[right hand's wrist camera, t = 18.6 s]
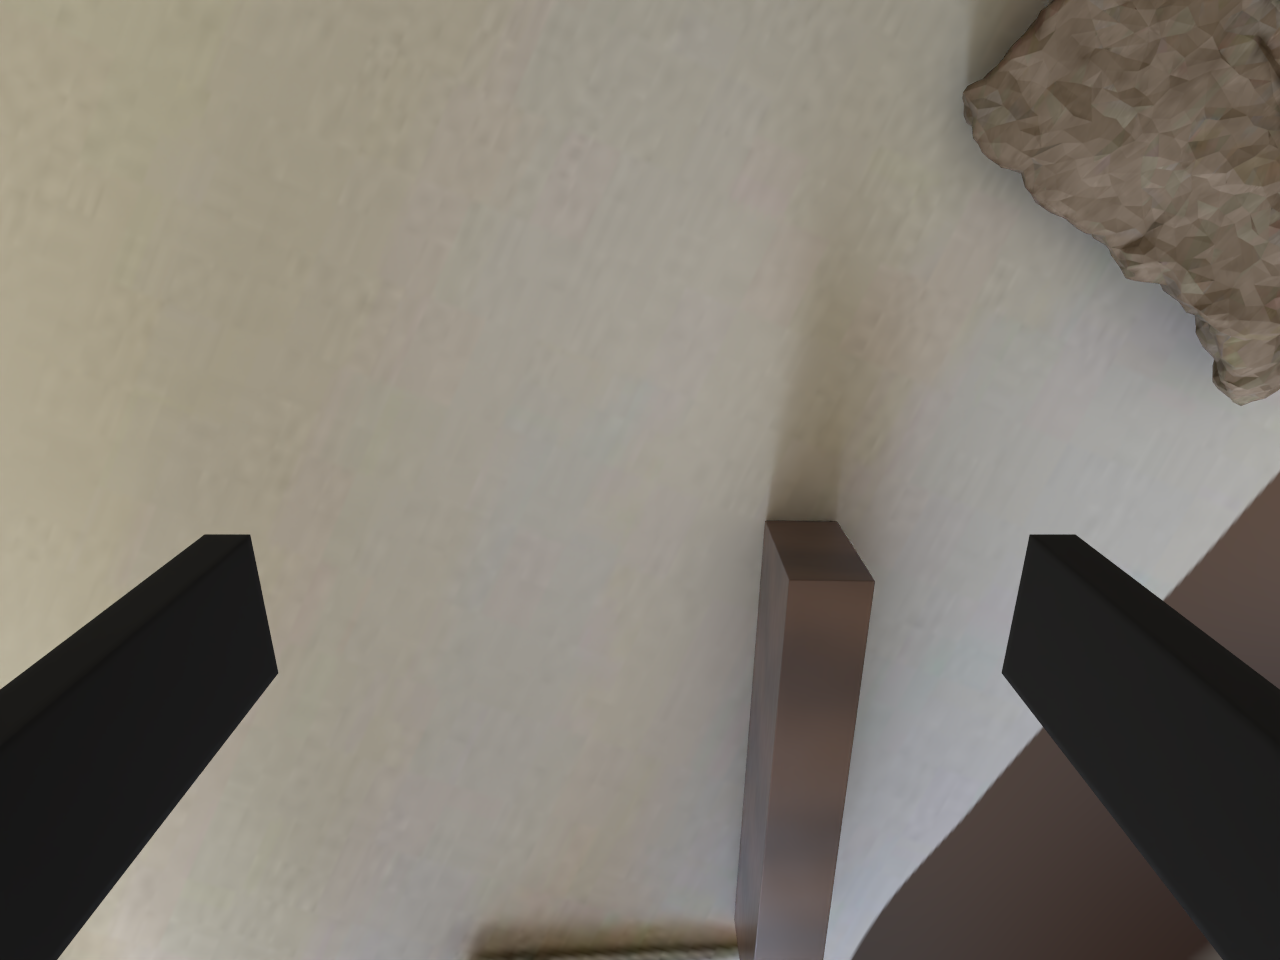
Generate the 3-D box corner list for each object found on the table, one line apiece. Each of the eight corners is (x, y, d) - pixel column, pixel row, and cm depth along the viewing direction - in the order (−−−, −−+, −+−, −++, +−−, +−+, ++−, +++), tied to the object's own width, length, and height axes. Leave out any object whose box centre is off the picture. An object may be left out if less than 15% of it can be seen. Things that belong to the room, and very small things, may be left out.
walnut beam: (764, 520, 41) (789, 580, 34) (837, 521, 41) (875, 580, 34) (734, 919, 51) (748, 1024, 44) (791, 920, 51) (814, 1024, 44)
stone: (1564, 156, 31) (1706, 158, 26) (1222, 398, 38) (1280, 438, 33) (1219, -200, 30) (1295, -275, 25) (930, 118, 37) (941, 113, 32)
